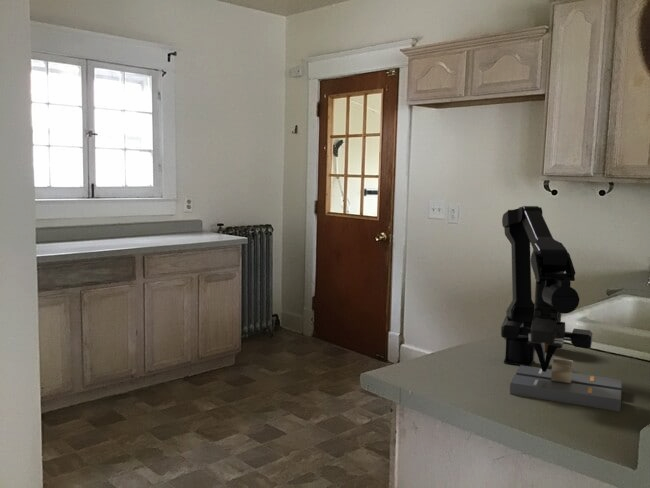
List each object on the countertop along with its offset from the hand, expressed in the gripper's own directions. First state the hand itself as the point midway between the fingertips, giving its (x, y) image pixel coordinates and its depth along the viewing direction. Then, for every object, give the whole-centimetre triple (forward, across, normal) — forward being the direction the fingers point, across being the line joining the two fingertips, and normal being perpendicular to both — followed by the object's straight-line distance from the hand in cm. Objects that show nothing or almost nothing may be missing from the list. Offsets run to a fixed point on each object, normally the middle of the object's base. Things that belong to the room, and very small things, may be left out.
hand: (544, 371), depth 139 cm
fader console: (+4, +5, 0) cm, 6 cm away
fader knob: (+4, +4, 0) cm, 5 cm away
